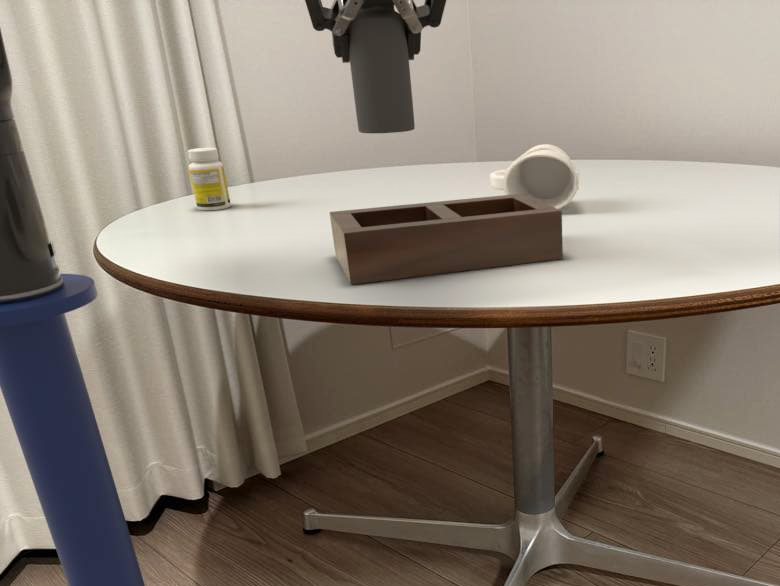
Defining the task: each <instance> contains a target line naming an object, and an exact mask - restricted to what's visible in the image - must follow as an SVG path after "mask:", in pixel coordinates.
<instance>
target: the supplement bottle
mask: <svg viewBox="0 0 780 586" xmlns="http://www.w3.org/2000/svg"><path fill="white" fill-rule="evenodd" d="M187 155H188V160H189V161H190V162H191V163H189V165H188V173H189V176H190V180H191V185H192V191H193V194H194V199H195V204H196V208H197V210H198V211H220V210H225V209H228V208H229V207H231V205H232V203H231V198H230V193H229V188H228V183H227V179H226V173H225V168H224V164H223V162H221V161H220V160H219V158H220V157H219V152H218V149H217V147H199V148H192V149H188V150H187Z"/></svg>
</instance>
